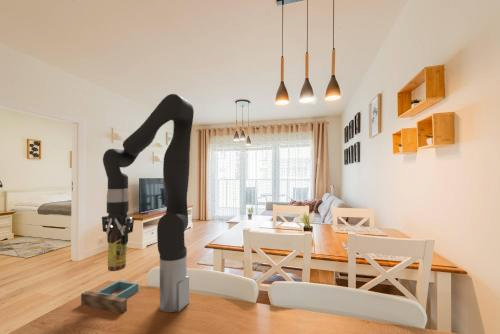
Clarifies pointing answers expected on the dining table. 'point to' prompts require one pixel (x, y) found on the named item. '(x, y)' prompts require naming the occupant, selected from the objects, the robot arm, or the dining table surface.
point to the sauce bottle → (116, 250)
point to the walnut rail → (104, 302)
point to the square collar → (123, 285)
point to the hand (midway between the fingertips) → (117, 243)
